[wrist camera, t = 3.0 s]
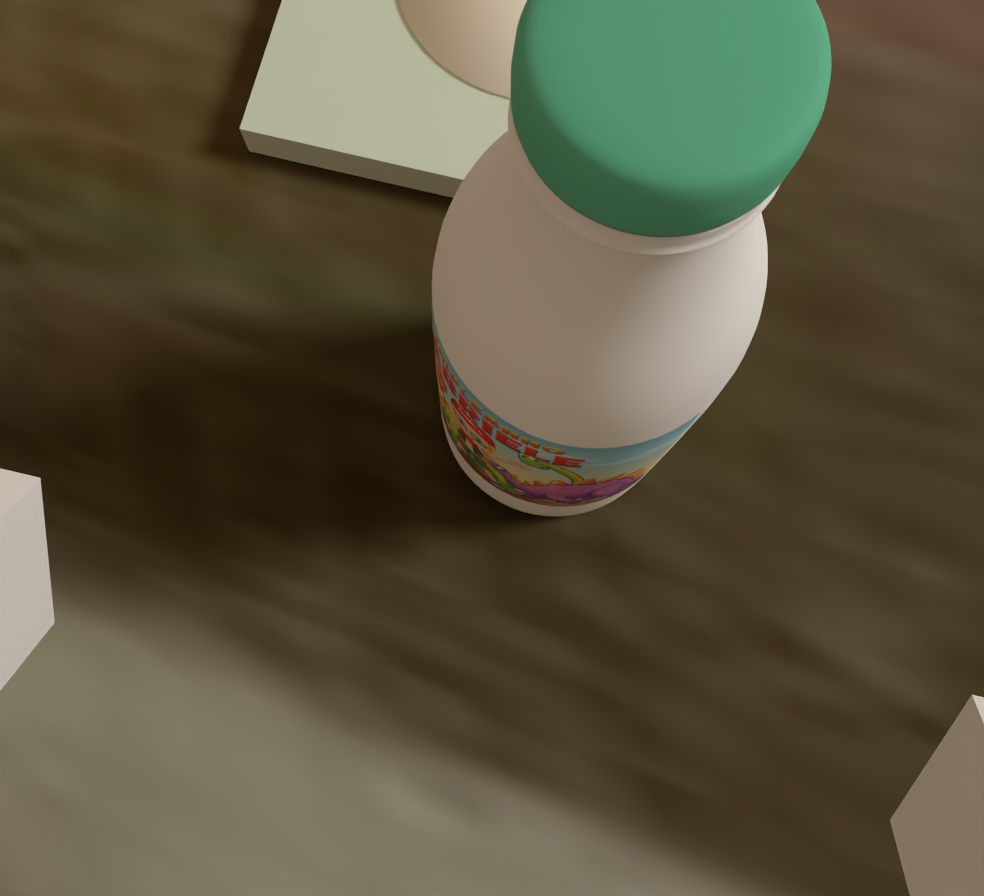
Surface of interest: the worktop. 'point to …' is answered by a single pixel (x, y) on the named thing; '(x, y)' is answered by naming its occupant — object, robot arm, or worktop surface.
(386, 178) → the locating board
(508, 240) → the milk bottle
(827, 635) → the worktop surface
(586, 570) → the worktop surface
